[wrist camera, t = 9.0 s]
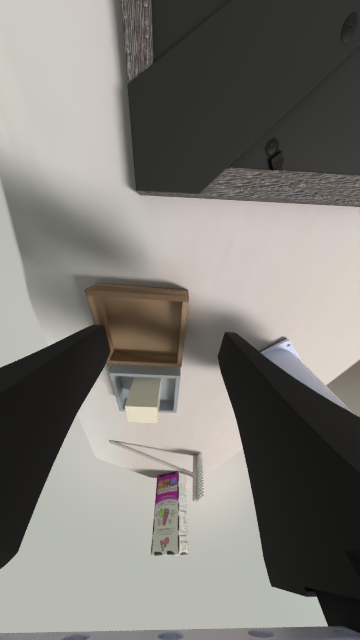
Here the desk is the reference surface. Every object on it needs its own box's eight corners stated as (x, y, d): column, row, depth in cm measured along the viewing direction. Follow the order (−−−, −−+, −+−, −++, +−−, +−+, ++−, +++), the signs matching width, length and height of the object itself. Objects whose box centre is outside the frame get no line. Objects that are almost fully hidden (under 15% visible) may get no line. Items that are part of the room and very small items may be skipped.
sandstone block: (161, 392, 26) (157, 422, 22) (137, 391, 26) (128, 421, 21) (161, 376, 24) (156, 407, 19) (134, 375, 24) (124, 406, 19)
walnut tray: (181, 354, 22) (181, 366, 20) (113, 351, 21) (105, 363, 19) (187, 289, 16) (188, 296, 14) (96, 283, 16) (84, 289, 14)
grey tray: (176, 400, 28) (176, 412, 26) (124, 398, 28) (119, 410, 26) (180, 363, 23) (180, 376, 21) (115, 360, 23) (108, 372, 20)
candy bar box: (165, 478, 58) (160, 555, 44) (157, 475, 56) (149, 555, 42) (186, 473, 55) (188, 555, 40) (178, 470, 53) (178, 556, 38)
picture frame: (142, 196, 13) (362, 208, 13) (136, 190, 11) (390, 204, 11) (95, -429, 5) (672, -345, 5) (45, -825, 3) (929, -649, 3)
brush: (121, 416, 42) (102, 455, 33) (202, 450, 43) (203, 496, 35) (118, 423, 43) (98, 463, 34) (196, 456, 45) (196, 502, 36)
